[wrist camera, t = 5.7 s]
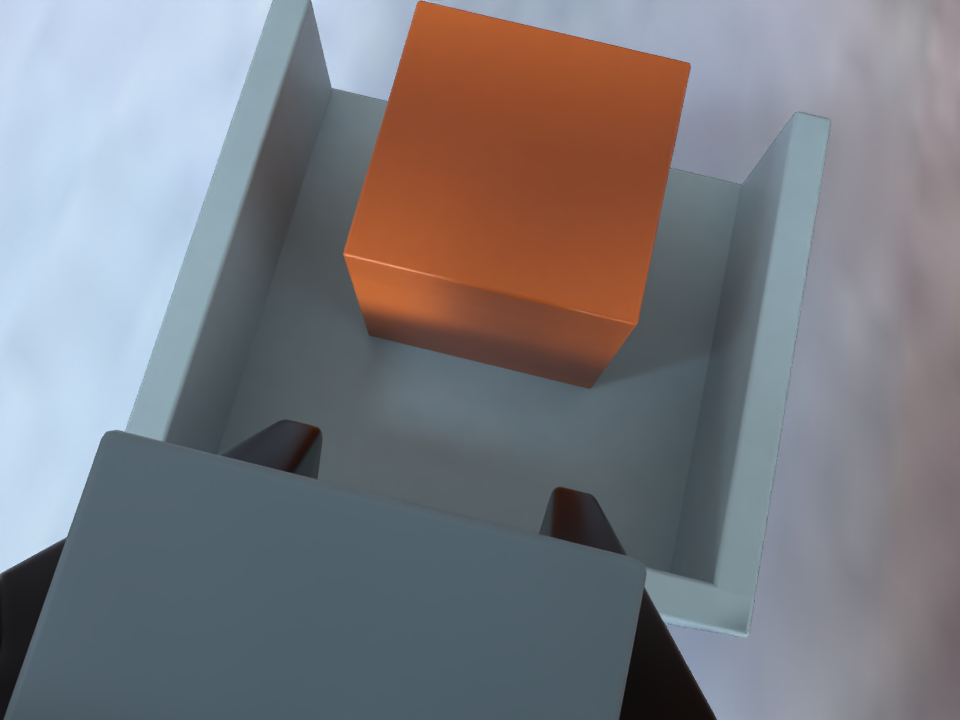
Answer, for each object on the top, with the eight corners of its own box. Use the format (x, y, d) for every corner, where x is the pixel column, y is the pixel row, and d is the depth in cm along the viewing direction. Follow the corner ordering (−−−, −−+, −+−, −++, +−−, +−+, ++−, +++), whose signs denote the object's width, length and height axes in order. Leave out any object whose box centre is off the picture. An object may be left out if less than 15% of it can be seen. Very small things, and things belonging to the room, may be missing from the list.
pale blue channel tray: (671, 727, 15) (1449, 1212, 3) (144, 594, 15) (-847, 618, 4) (763, 201, 17) (1411, -590, 6) (305, 93, 18) (24, -880, 6)
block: (591, 390, 16) (638, 325, 12) (367, 335, 16) (341, 254, 12) (635, 183, 17) (692, 62, 13) (424, 134, 17) (418, -2, 13)
